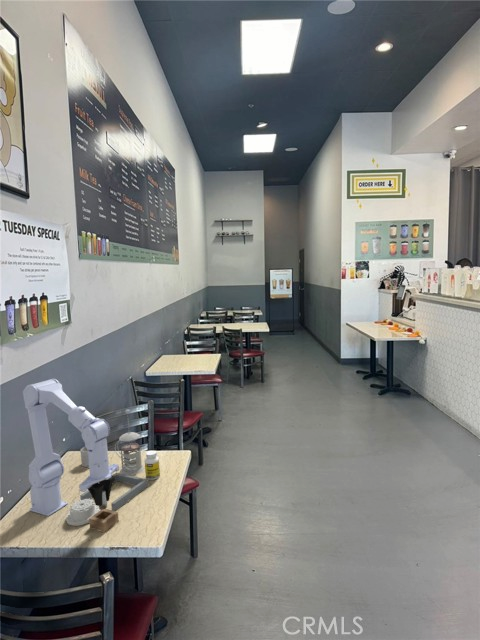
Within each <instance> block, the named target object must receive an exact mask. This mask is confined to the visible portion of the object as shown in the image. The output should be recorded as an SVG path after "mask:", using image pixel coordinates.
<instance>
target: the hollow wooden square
mask: <svg viewBox="0 0 480 640" xmlns="http://www.w3.org/2000/svg"><path fill="white" fill-rule="evenodd" d="M118 522H119V513H118V511H117V510H115V511H112V509H108V508H106V509H104V510H100V509H99V512H98V513H96V514H95V515H93V516H92V517H91V518H89V523H88V524H89V529H93V530H96V531H99V532H103V533H105V532H107V531H108V530H110V528H112V527H114V525H115V524H117V523H118Z"/></svg>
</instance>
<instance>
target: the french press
mask: <svg viewBox="0 0 480 640" xmlns="http://www.w3.org/2000/svg"><path fill="white" fill-rule="evenodd" d="M124 413H125V414H127V416H129V413H131V411H130V409H125V411H124ZM127 424H128V428H130V425H129V424H130V423H129V419H127ZM140 437H141V435H140V433H137V432H133V431H128V432H126V433H123V434H121V436H119V438H118V439H119V440H118V441H116V442H115V445H114V450H115V454H116V455H117V456H118V457H119V458H120V459H121V460H120V461H121V469H119V474H124V475H129V476H135V475H138V474H140V473H142V472H144V470H145V465H144V464H142V453H141V447H140V444H139V443H136V442H134V441H136V440H138V439H139V438H140ZM119 442H120V444H121V445H122V444H123V443H124V442H129V443H126V444H123V445H122V446H121V448H120V449H121V450H119V448H117V449H116V447H117V445H118V444H119ZM132 442H133V443H132ZM117 451H118V452H119V454H120V455H119V454H118V453H117Z"/></svg>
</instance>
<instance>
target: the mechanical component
mask: <svg viewBox="0 0 480 640" xmlns="http://www.w3.org/2000/svg"><path fill="white" fill-rule="evenodd" d="M99 511H100V509H99V506H97V505H96V504H95V502H94V499H92V498H90V499H85V500H81V499H80V500H78V501H76V502H73V503H71V505H70V507H69V511H68V513H67V514H66V517H65V519H66V523H67V524H68V525H70V526H83V525H84V526H85V525H86V524H90V523H89V518H91V517H92V516H93V515H95V514H96V513H98V512H99Z"/></svg>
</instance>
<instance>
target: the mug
mask: <svg viewBox="0 0 480 640" xmlns="http://www.w3.org/2000/svg"><path fill="white" fill-rule="evenodd" d="M79 450H80V460H81V466H82V467H83V468H89V460H88V449H86V447H85V446H84V447H82V448H80V449H79Z"/></svg>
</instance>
